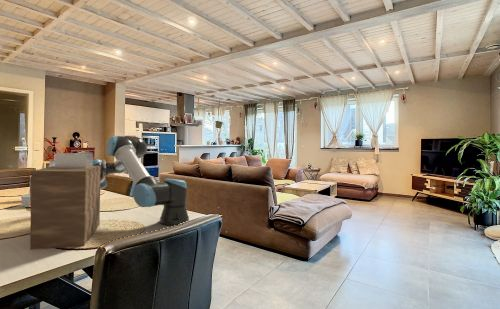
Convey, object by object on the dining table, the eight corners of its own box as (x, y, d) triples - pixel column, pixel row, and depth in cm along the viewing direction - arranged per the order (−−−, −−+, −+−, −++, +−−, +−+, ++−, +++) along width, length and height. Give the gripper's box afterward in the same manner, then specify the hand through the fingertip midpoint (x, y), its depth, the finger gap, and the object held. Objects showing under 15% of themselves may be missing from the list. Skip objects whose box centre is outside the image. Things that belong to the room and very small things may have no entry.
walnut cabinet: (57, 227, 129) (58, 165, 128) (99, 225, 135) (100, 165, 134) (30, 249, 102) (31, 171, 102) (84, 245, 108) (85, 171, 107)
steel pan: (76, 162, 146) (77, 151, 146) (101, 163, 150) (101, 152, 150) (54, 167, 116) (54, 153, 116) (86, 168, 120) (86, 154, 119)
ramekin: (24, 204, 172) (24, 193, 172) (49, 203, 178) (49, 192, 178) (17, 209, 160) (17, 197, 160) (45, 207, 166) (45, 196, 166)
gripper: (118, 181, 172) (114, 167, 154) (73, 181, 164) (63, 166, 146) (119, 170, 175) (115, 155, 158) (75, 170, 167) (65, 154, 150)
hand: (90, 161), depth 152 cm, fingers open, 13 cm apart
